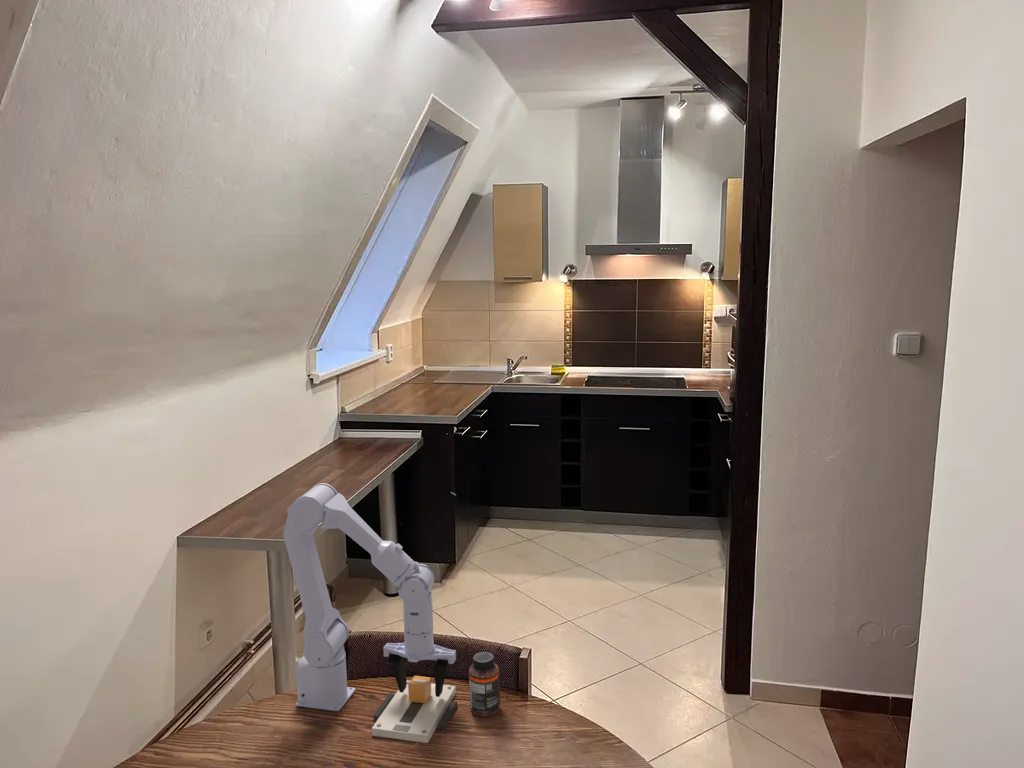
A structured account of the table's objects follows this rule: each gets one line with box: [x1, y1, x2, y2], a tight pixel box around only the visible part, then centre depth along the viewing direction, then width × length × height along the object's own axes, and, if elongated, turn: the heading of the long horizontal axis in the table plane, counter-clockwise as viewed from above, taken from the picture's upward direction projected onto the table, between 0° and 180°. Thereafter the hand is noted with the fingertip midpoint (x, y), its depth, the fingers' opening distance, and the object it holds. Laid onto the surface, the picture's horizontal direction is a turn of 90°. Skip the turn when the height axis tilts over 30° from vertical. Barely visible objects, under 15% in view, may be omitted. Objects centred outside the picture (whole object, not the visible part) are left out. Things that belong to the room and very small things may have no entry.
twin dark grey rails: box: [372, 692, 458, 731], centre depth 149 cm, size 14×8×1 cm, turn 77°
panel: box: [371, 679, 457, 744], centre depth 149 cm, size 11×17×2 cm, turn 166°
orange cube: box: [408, 675, 432, 703], centre depth 151 cm, size 4×4×4 cm
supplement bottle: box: [468, 651, 501, 718], centre depth 149 cm, size 6×6×11 cm
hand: (420, 691), depth 151 cm, fingers open, 7 cm apart
